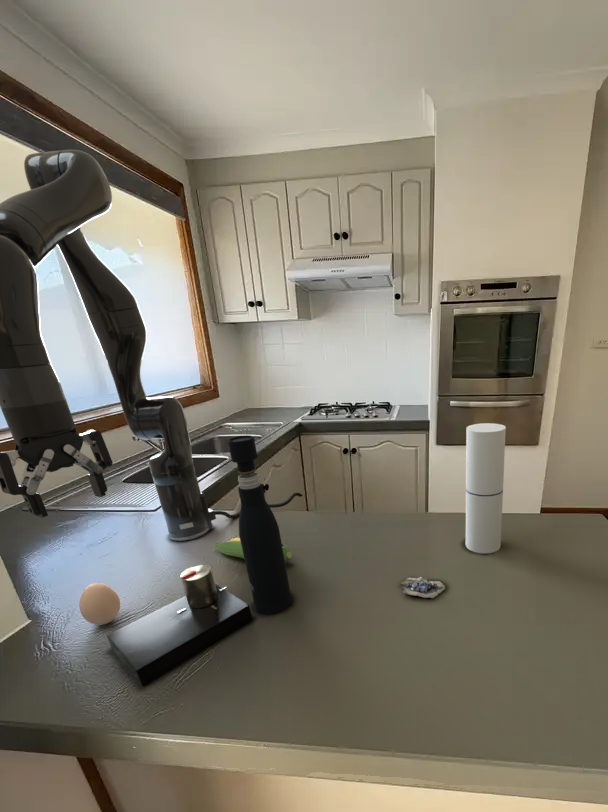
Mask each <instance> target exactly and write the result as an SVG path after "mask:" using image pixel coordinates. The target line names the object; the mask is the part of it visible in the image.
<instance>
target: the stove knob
mask: <svg viewBox="0 0 608 812" xmlns="http://www.w3.org/2000/svg"><path fill="white" fill-rule="evenodd" d="M179 578H180V581H181V584H182V585H181V586H182V587H183V588H182V589H183V591H184V594H185V596H186V598H187V601H188V605H189V606H190V607H192V608H202V607H206V606H208V605H210V604H212V603H213V602H215V601H216V599H217V597H218V594H217V591H216V587H215V583H216V582H215V579H214V575H213V571H212V567H210V566H209V565H206V564H197V565H194V566H190V567H188V568H186V569H185V570H184V571H182V572H181V573H180V575H179Z"/></svg>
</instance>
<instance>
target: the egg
mask: <svg viewBox="0 0 608 812" xmlns="http://www.w3.org/2000/svg"><path fill="white" fill-rule="evenodd" d="M78 605H79V611H80V614H81V616H82V618H83V619H84V620H85V621H87V622H88V623H90V624H92V625H98V626H101V625H102V626H103V625H106V624H109V623H111V622H113V621H114V619H115V618H117V616H118V615H119V613H120V609H121V599H120V597H119V594H118V593H117V592H116V591H115V589H113V588H112V587H111V586H110V585H107V584H105V583H101V582H94V583H90V584H89V585H87V587H85V588H83V591H82V592H81V594H80V597H79V603H78Z"/></svg>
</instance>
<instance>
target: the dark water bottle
mask: <svg viewBox="0 0 608 812" xmlns="http://www.w3.org/2000/svg"><path fill="white" fill-rule="evenodd" d="M227 446H228V450H229V455H230V459H231V462H232V463H236V465H237V466H236V467H237V473H238V474H239V475H238V476H237V482H238V486H239V487H238V488H237V491H238V495H239V500H240V509H239V511H240V516H238V536H239V537H238V538H240V541H241V546H242V550H243V555H244V559H243V560H244V563H245V568H246V572H247V577H248V581H249V586H250V591H251V595H252V599H253V604H254V608H255V610H256V611H257V612H258V613H261V614H263V615H271V614H277V613H280V612H282V611H284V610H286V609H287V608H288V607H289V606H290V605H291V603H292V594H291V588H290V582H289V576H288V570H287V565H286V562H285V559H284V554H283V548H282V544H283V543H282V537H281V533H280V527H279V524H278V521H277V518H276V516H275V514H274V512H273V511H272V508H270V507H269V505H268V504H269V503H268V502H267V500H266V497H265V491H264V486H263V484H262V483H261V480H260V475H259V473H258V472H256V471H257V468H256V466H255V460H257V459H258V452H257V448H256V441H255V437H254V436H253V435H238V436H234V437H231V438H229V439H228V440H227Z"/></svg>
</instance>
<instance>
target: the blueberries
mask: <svg viewBox="0 0 608 812" xmlns="http://www.w3.org/2000/svg"><path fill="white" fill-rule="evenodd" d="M400 585H401V586H400V587H401V588H402V589H403V590H402V593H403V594H405V595H410V596H418V597H422V598H424V599H427V598H431V599H434V598H436V597H438V596H439V594H441V593H442V592H443V591H445V590H446V586H445V585H444V583H442V582H441V581H439V580H432V579H431V580H427V578H423V577H422V576H420V577H418V576H417V577H416V576H410V577H407V578H406V579H404V580H403V581H401V582H400Z"/></svg>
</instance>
